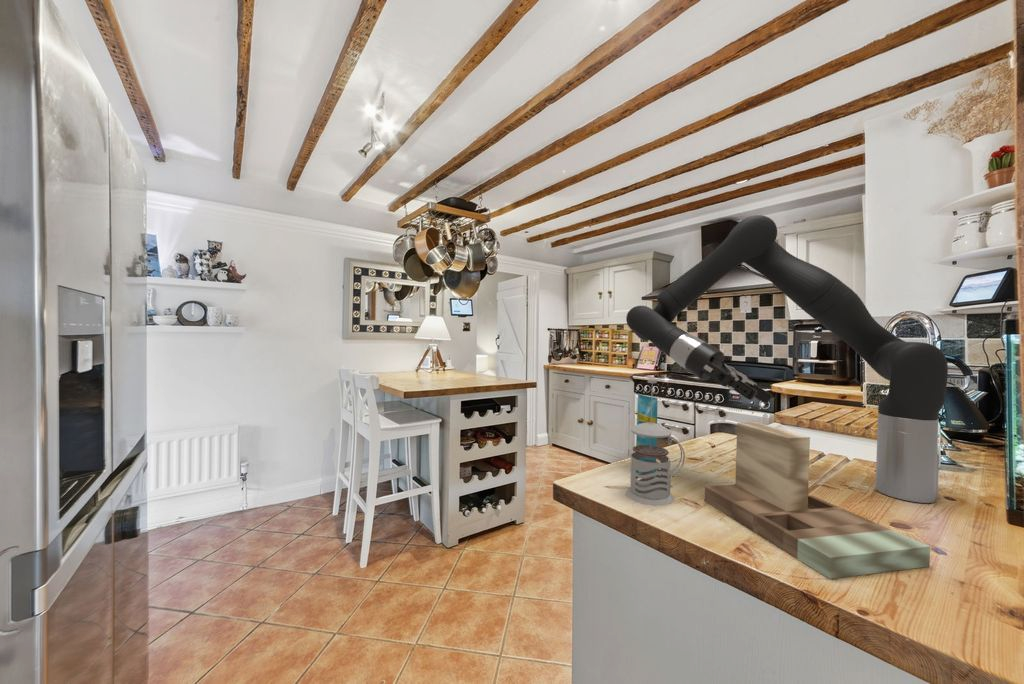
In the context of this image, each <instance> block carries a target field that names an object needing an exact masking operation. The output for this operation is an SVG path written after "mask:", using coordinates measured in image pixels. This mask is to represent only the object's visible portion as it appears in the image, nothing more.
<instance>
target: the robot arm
mask: <svg viewBox="0 0 1024 684" xmlns="http://www.w3.org/2000/svg"><path fill="white" fill-rule="evenodd" d="M777 236H778V227H777V225H776V223H775V221H774V220H773V219H772V218H771V217H768V216H765V215H762V214H761V215H759V214H757V215H751V216H747V217H745V218H743V219H742V220H740V221H739V222H738V223H736V225H734V227H733V228H732V229H731V231H730V232H729V234H728V235H727V236H726V237H725V239H724V240H723V241H722V242H721V243H720V244H719V245H718V246H717V247H716V248H714V249H713V250H712V252H710V253H709V254H708V255H706V256H705V257H704V258H703V259H702V260H701V261H699V262H698V263H696V264H695V265H694V266H692V267H691V268H690V269H689V270H687V271H686V272H685V273H682V275H680V276H679V277H678V278H677V279H675V280H674V281H673V282H672V283H671V284H669V285H668V286H666V287H665V288H664V289H663V290H662V291H661V292H660V293H659V294H658V295H657V296H656V299H657V303H656V304H657V305H656V306H655V307H654V309H652V308H651V307H648V306H646V305H637V306H634V307H631V308H630V309H629V311H628V312H627V314H626V317H625V319H626V324H627V326H628V328H629V329H630V331H632V332H633V333H634V334H635V335H636V336H637V337H638V338H639V339H640V340H642V341H650V342H651V343H652V344H653V345H654V346H655V347H656V349H658V350H659V351H660V352H661V353H663V354H664V355H666V356H668V357H670V359H672V360H673V361H674V362H676V364H677V365H679V366H680V367H682V368H684V369H685V370H687V371H688V372H690V373H691V374H692V375H694V376H696V378H698V379H700V380H701V381H706V380H710V379H712V380H713V381H715V382H717V383H719V385H721V386H722V387H725V388H728V389H729V390H733V391H735V392H736V393H738V394H740V395H741V396H742V397H744V398H746V399H747V400H750V401H751V400H754V398H756V399H757V400H758V401H761V402H762V403H764V404H768V403H770V401H771V400H772V399H773V394H772V393H770V392H768V391H767V390H766V389H764V388H762V387H760V386H758V383H757V382H756V381H754V380H753V379H751V378H749V377H748V376H747V375H746V374H743V373H742V372H740V371H738V370H736V368H735V367H733V366H731V365H727V364H726V363H724V362H725V354H724V352H723V351H721V350H719V349H718V348H716V347H714V346H713V345H712V344H710V343H708V342H706V341H704V340H703V339H701V338H699V337H697V336H695V335H693V334H690V333H689V332H687V331H685V330H684V329H682V328H680V327H678V326H677V325H674V324H673V321H674V320H675V319H676V318H677V316H678V315H679V314H680V313H682V311H684V310H685V309H687V308H688V307H689V306H691V305H692V304H694V303H695V301H697V300H698V299H699V298H700V297H701V296H703V295H704V294H706V292H707V291H708V290H710V289H711V288H712V287H713V286H714V285H715V284H716V283H718V282H719V281H720V280H722V278H723V277H726V276H727V274H728V273H730V272H731V271H733V270H734V269H735V268H737V267H739V266H741V264H746V265H747V266H749V267H750V268H752V269H754V270H755V271H757V272H758V273H760V274H761V275H762V276H764V277H765V278H766V279H767V280H769V282H771V283H772V284H773V285H774V286H775V287H776V288H777V290H779V291H780V292H782V293H783V294H784V295H785V296H786V297H787V298H788V299H790V301H792V302H793V303H794V304H796V306H798V307H799V308H800V309H801V310H802V311H804V313H806V314H807V315H809V316H810V317H811V318H812V319H813V320H814V321H817V322H818V323H820V324H821V325H822V327H824V328H825V329H827V330H828V331H829V332H830V333H832V334H834V335H835V336H836V337H837V338H839V339H841V340H842V341H843V342H845V343H846V344H847V345H848V346H850V348H852V349H853V351H854V352H856V353H857V354H858V356H860V358H862V359H863V360H864V362H866V363H867V364H868V365H869V367H870V368H871V369H872V370H874V371H875V372H876V374H878V375H879V376H880V377H882V378H883V379H885V380H887V381H889V384H888V385H889V386H888V393H887V395H886V396H885V397H884V398H882V399H880V400H879V402H878V405H877V406H878V408H877V431H876V432H877V435H876V437H877V438H876V460H875V461H876V462H875V463H876V464H875V466H876V467H875V488H874V489H875V490H876V491H877V492H879V493H881V494H884V495H886V496H889V497H892V498H895V499H898V500H903V501H907V502H914V503H923V504H930V503H932V504H933V503H935V502H936V500H937V499H938V498H939V497H938V495H939V493H938V492H939V476H940V475H939V471H940V470H939V469H940V455H939V454H938V444H939V443H938V440H939V439H938V438H939V434H938V433H939V418H940V417H939V414H940V411H941V410H942V409H943V408H944V407H943V406H944V405H945V402H946V394H947V387H948V386H947V384H948V376H949V373H948V372H949V367H948V365H949V364H948V360H947V358H946V355H945V354H944V352H943V351H942V350H941V349H940V348H939V347H937V346H936V345H934V344H932V343H928V342H927V343H926V342H921V341H920V342H919V341H905V340H904V339H901V338H900V337H898V336H897V335H895V334H893V333H891V332H890V331H889V330H887V328H885V327H884V326H882V324H880V323H878V322H877V320H875V318H874V317H873V316H872V314H871V313H870V311H869V310H868V309H867V307H866V305H865V303H864V302H863V300H862V299H861V298H860V296H859V295H858V294H857V293H856V292H855V291H854V290H853V289H852V288H850V287H849V285H846V283H844V282H843V281H841V280H840V279H839V278H838V277H837V276H835V275H833V274H832V273H830V272H828V271H827V270H824V269H823V268H821V267H818V266H816V265H815V264H812V263H810V262H806V261H805V260H803V259H801V258H798V257H797V256H795V255H793V254H791V253H790V252H789V251H787V250H786V249H785V248H783V247H782V245H780V243H778V242H777V241H776V240H777ZM747 383H748V384H747Z"/></svg>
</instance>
